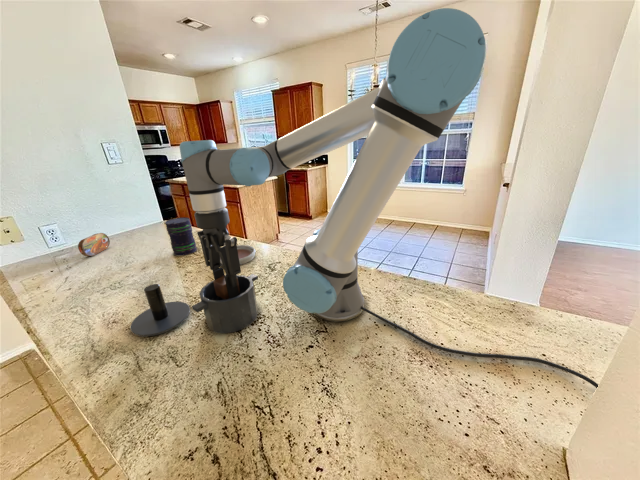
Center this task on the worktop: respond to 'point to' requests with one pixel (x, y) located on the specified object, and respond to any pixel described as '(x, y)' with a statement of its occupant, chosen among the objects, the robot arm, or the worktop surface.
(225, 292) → the block
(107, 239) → the tin
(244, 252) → the frying pan
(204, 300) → the pot
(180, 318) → the lid
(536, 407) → the worktop surface
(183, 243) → the storage jar
